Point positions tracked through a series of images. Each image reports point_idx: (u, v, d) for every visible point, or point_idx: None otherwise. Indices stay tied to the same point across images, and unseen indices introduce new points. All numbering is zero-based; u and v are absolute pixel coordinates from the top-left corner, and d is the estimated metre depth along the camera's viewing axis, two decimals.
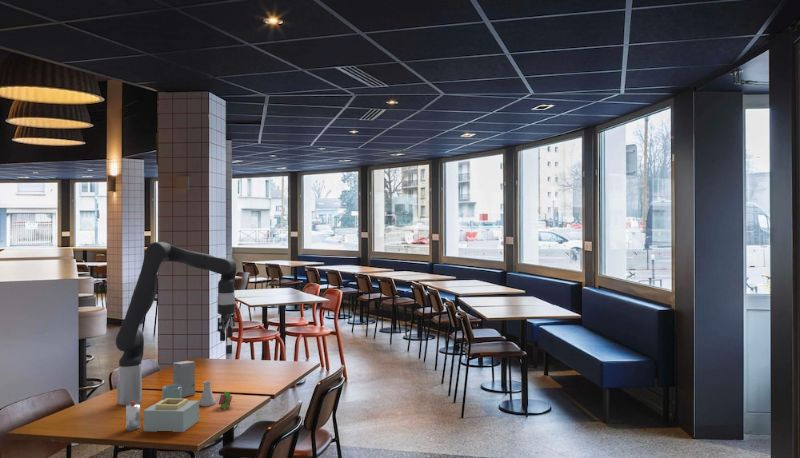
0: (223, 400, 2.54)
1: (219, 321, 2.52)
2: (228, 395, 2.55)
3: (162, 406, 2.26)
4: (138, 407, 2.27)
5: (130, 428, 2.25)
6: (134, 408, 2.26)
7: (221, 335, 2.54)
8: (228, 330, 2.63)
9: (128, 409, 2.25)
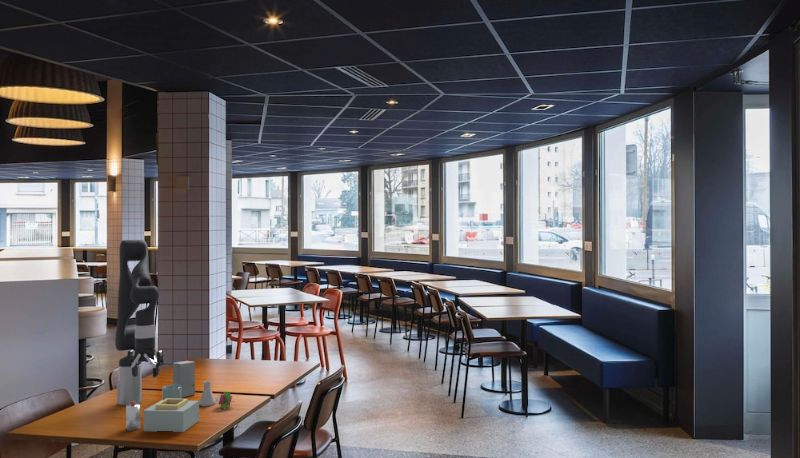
0: (223, 400, 2.54)
1: (160, 354, 2.30)
2: (228, 395, 2.55)
3: (162, 406, 2.26)
4: (138, 407, 2.27)
5: (130, 428, 2.25)
6: (134, 408, 2.26)
7: (157, 370, 2.30)
8: (135, 368, 2.31)
9: (128, 409, 2.25)
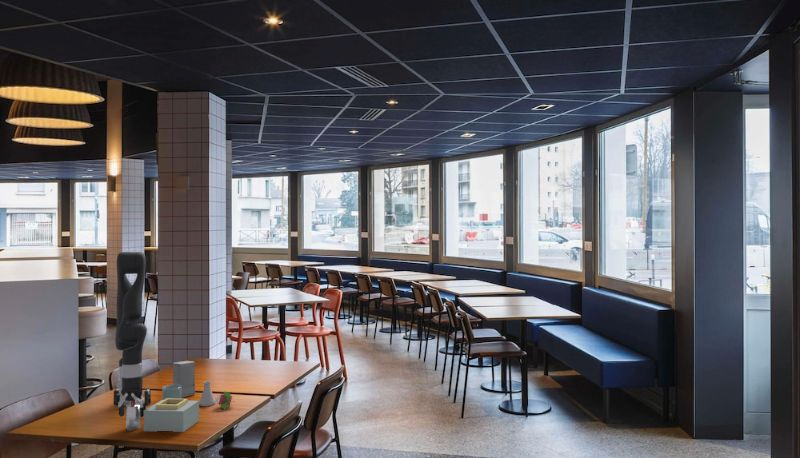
0: (223, 400, 2.54)
1: (148, 394, 2.27)
2: (228, 395, 2.55)
3: (162, 406, 2.26)
4: (138, 407, 2.27)
5: (130, 428, 2.25)
6: (134, 408, 2.26)
7: None
8: (122, 408, 2.27)
9: (128, 409, 2.25)
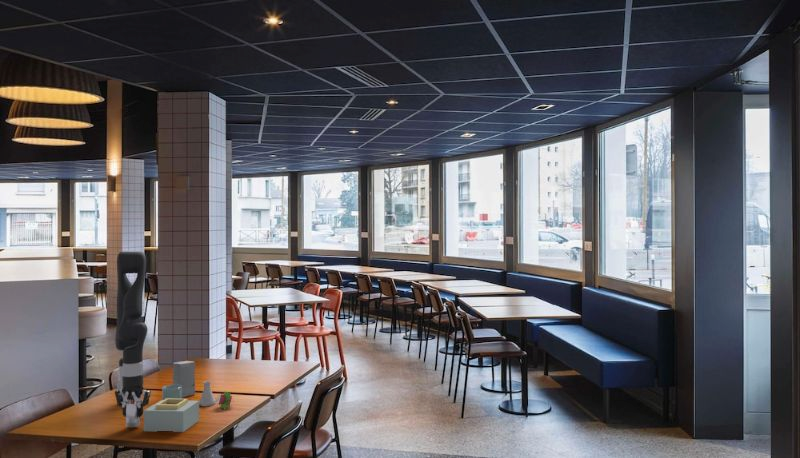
0: (223, 400, 2.54)
1: (148, 395, 2.27)
2: (228, 395, 2.55)
3: (162, 406, 2.26)
4: None
5: (130, 425, 2.26)
6: (134, 405, 2.26)
7: (141, 410, 2.28)
8: None
9: (128, 406, 2.26)
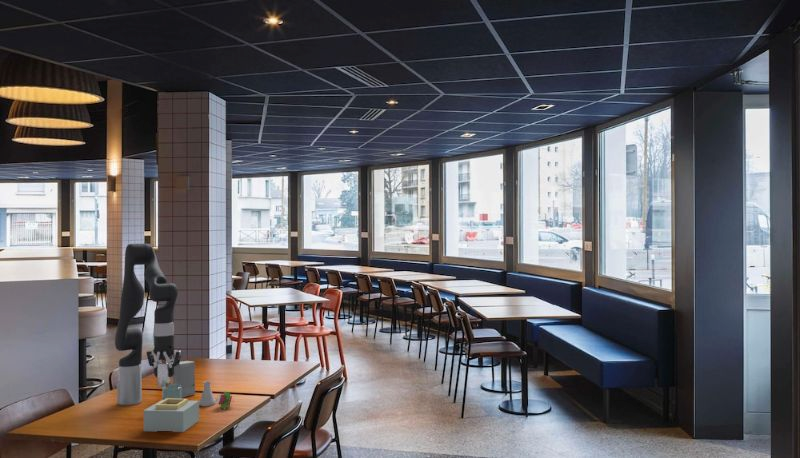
0: (223, 400, 2.54)
1: (179, 355, 2.29)
2: (228, 395, 2.55)
3: (162, 406, 2.26)
4: None
5: (161, 385, 2.27)
6: (165, 365, 2.28)
7: (173, 370, 2.29)
8: None
9: (159, 366, 2.27)
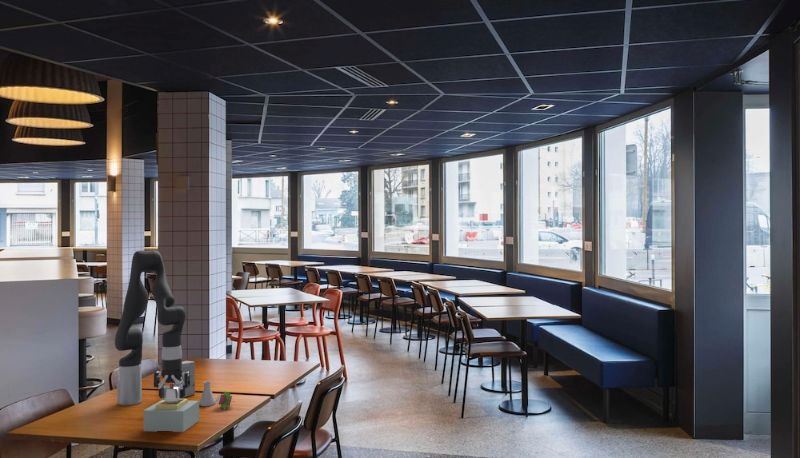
0: (223, 400, 2.54)
1: (188, 376, 2.30)
2: (228, 395, 2.55)
3: (162, 406, 2.26)
4: (177, 389, 2.30)
5: None
6: (173, 390, 2.29)
7: (184, 391, 2.30)
8: (162, 390, 2.30)
9: (167, 391, 2.28)
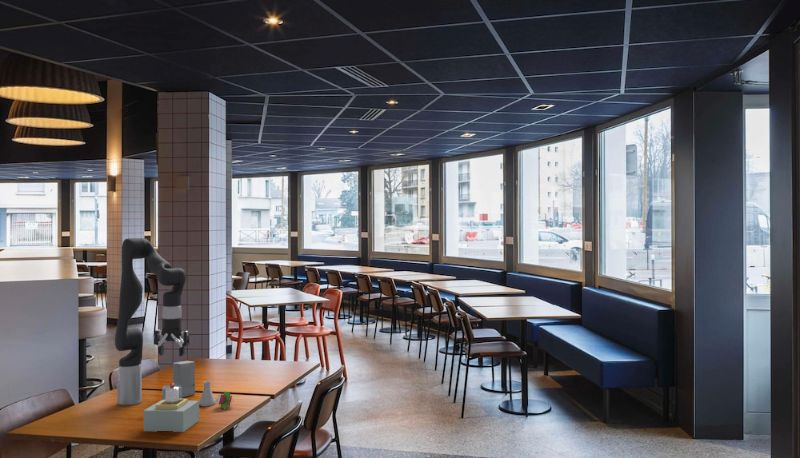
0: (223, 400, 2.54)
1: (187, 334, 2.39)
2: (228, 395, 2.55)
3: (162, 406, 2.26)
4: (177, 389, 2.30)
5: None
6: (174, 390, 2.29)
7: (183, 349, 2.39)
8: (161, 347, 2.40)
9: (168, 391, 2.28)
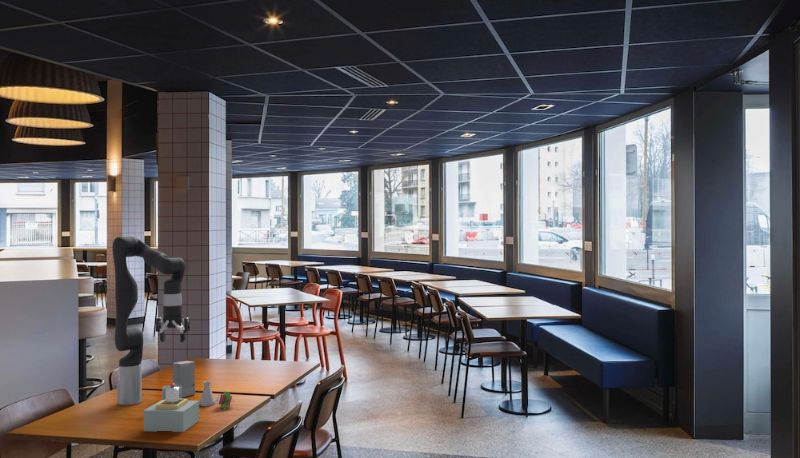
0: (223, 400, 2.54)
1: (187, 321, 2.47)
2: (228, 395, 2.55)
3: (162, 406, 2.26)
4: (178, 389, 2.30)
5: None
6: (174, 390, 2.29)
7: (184, 336, 2.48)
8: (163, 334, 2.48)
9: (168, 391, 2.28)
